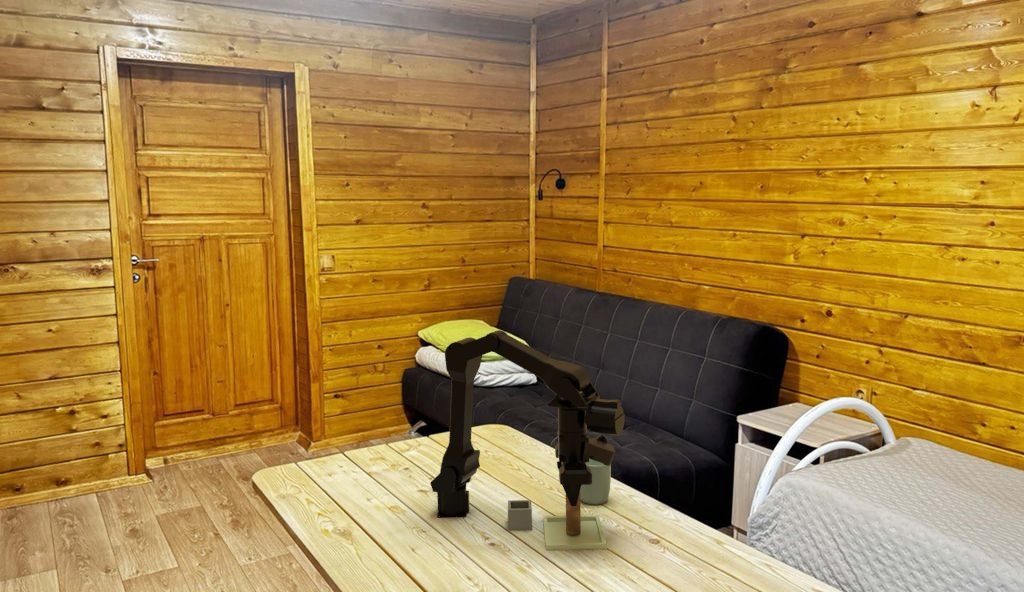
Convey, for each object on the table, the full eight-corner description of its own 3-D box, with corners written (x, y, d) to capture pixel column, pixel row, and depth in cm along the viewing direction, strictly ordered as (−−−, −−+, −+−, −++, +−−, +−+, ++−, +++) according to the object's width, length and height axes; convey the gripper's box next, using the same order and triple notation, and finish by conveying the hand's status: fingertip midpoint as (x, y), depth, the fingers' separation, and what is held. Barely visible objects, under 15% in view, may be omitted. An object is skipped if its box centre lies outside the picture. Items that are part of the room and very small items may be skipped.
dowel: (566, 535, 161) (566, 488, 160) (565, 529, 164) (565, 483, 163) (581, 535, 161) (580, 488, 160) (580, 529, 164) (579, 483, 163)
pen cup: (508, 532, 165) (507, 509, 165) (508, 522, 170) (508, 500, 170) (532, 532, 165) (531, 509, 165) (531, 522, 170) (531, 500, 170)
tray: (545, 552, 156) (545, 545, 156) (543, 522, 170) (543, 516, 170) (606, 551, 156) (606, 544, 156) (598, 521, 170) (598, 515, 170)
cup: (609, 509, 176) (609, 466, 175) (574, 507, 178) (574, 464, 176) (612, 496, 184) (611, 454, 182) (578, 494, 185) (578, 453, 184)
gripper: (618, 442, 151) (618, 520, 153) (606, 414, 169) (606, 484, 171) (559, 443, 151) (560, 521, 153) (554, 415, 169) (555, 485, 171)
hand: (573, 502), depth 162 cm, fingers open, 3 cm apart
